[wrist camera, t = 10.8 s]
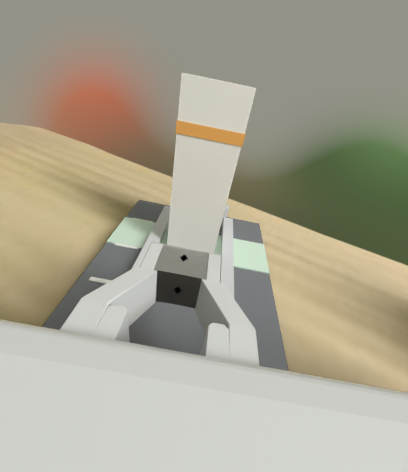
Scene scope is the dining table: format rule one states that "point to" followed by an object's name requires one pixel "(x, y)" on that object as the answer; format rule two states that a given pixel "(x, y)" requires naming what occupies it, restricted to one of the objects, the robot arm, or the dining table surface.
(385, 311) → the dining table surface
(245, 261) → the grey slider track base
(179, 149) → the fader
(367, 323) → the dining table surface
